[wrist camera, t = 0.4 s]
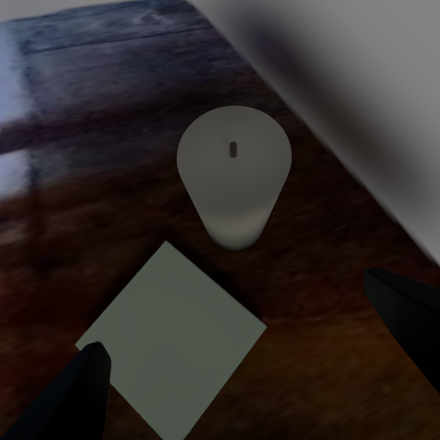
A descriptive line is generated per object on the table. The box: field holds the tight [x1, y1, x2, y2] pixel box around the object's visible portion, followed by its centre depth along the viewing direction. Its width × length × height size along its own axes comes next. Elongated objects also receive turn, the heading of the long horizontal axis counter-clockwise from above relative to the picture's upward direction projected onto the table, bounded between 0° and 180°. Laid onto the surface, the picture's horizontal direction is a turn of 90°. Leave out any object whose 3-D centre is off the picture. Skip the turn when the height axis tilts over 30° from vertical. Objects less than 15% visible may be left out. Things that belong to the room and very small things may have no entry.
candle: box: [177, 106, 292, 251], centre depth 17 cm, size 5×5×13 cm
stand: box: [75, 241, 266, 440], centre depth 20 cm, size 10×10×2 cm
